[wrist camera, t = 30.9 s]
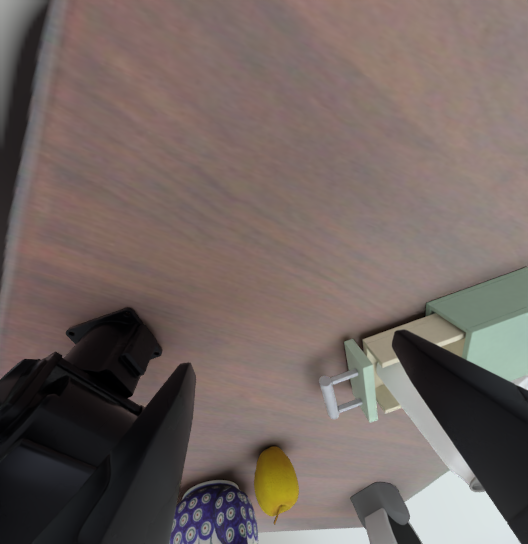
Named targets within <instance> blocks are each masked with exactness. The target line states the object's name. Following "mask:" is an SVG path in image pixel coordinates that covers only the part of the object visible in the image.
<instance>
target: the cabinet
mask: <svg viewBox="0 0 528 544" xmlns="http://www.w3.org/2000/svg"><path fill="white" fill-rule="evenodd" d="M435 313H437V314H438V315H440V316H441V317H443V318H444V319H446V320H447V321H449V322H451V323H452V324H454V325H455V326H457V327H458V328H460V329H461V330H463V331H464V332H466V337H465V343H464V348H463V353H462V358H464V359H466V360H468V361H470V362H472V363H474V364H476V365H478V366H480V367H482V368H484V369H486V370H488V371H490V372H492V373H494V374H496V375H498V376H500V377H502V378H504V379H506V380H508V381H512V380H515V379H518V378H520V377H523V376H526V375H528V267H525V268H523V269H520V270H517V271H514V272H512V273H509V274H506V275H503V276H500V277H498V278H495V279H492V280H489V281H486V282H484V283H481V284H478V285H475V286H473V287H470V288H467V289H464V290H461V291H459V292H456V293H453V294H450V295H447V296H445V297H442V298H439V299H436V300H434V301H431V302H428V303H426V316H429V315H432V314H435ZM426 316H425V317H426Z"/></svg>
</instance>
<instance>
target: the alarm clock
mask: <svg viewBox="0 0 528 544" xmlns="http://www.w3.org/2000/svg"><path fill="white" fill-rule="evenodd" d="M351 500H352V503H353V505H354V507H355V510H356V512H357V514H358V517H359V519H360V521H361V523H362V525H363V526H364V528H365V529H366V530H367V534H368V537H369V541H370V544H423V543H422V542H421V540H420V538H419V537H418V535H417V533H416V532H415V530H414V528H413V527H412V525H411V524H410V523H409V519H410V515H409V511H408V509H407V507H406V505H405V503H404V501H403V499H402V497H401V495H400V493H399V491H398V489H397V488H396V487H395V486H394V485H392V484H389V483H382V482H376V483H373V484H372V485H370V486H368V487H367V488H365V489H364V490H362V491H360V492H359V493H357V494H355V495H354V496H352V497H351Z"/></svg>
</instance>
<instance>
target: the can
mask: <svg viewBox="0 0 528 544" xmlns="http://www.w3.org/2000/svg"><path fill="white" fill-rule="evenodd" d="M376 372H377V374H378V376H379V377H380V379H381V380H382V381H383V383H384V384H385V386H386V387H387V388H388V389H389V391H390V392H391V393H392V395H393V396H394V397H395V399H396V400H397V401H398V403H399V404H400V405H401V407H402V408H403V409H404V411H405V412H406V413H407V415H408V416H409V417H410V419H411V420H412V421H413V423H414V424H415V425H416V426H417V428H418V429H419V430H420V432H421V433H422V434H423V436H424V437H425V438H426V440H427V441H428V442H429V444H430V445H431V446H432V448H433V449H434V450H435V451H436V453H437V454H438V455H439V457H440V458H441V459H442V460H443V462H444V463H445V464H446V466H447V467H448V468H449V469H450V470H451V471H452V472H453V473H455V474H456V475H457V476H458V477H460V478H461V479H463V480H464V481H465V482H466V483H467V484H468V485H469V487H470V489H471V490H472V491H474V492H484V491H485V490H484V488H483V487H482V485H481V484H480V482H479V481H478V479H477V478H476V476H475V475H474V473H473V472H472V471H471V469H470V468H469V466H468V465H467V463H466V462H465V460H464V459H463V457H462V456H461V454H460V453H459V452H458V450H457V449H456V447H455V446H454V444H453V443H452V441H451V440H450V438H449V437H448V435H447V434H446V433H445V431H444V430H443V428H442V427H441V425H440V424H439V422H438V421H437V419H436V418H435V416H434V415H433V413H432V412H431V411H430V409H429V408H428V406H427V405H426V403H425V402H424V400H423V399H422V397H421V396H420V394H419V393H418V392H417V390H416V389H415V387H414V386H413V384H412V382H411V381H410V379H409V377H408V376H407V374H406V372H405V370H404V368H403V367H402V365H401V363H400V362H398V363H395V364H392V365H389V366H387V367H384V368H382V366H381V365H380V364H379V363H378V362H377V364H376Z"/></svg>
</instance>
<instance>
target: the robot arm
mask: <svg viewBox="0 0 528 544" xmlns="http://www.w3.org/2000/svg"><path fill="white" fill-rule="evenodd" d="M126 312H128V313H130V314H127V313H126ZM73 332H74V333H73ZM66 335H67V336H68V337H69V338H70V339H71V340H72V341H73V342H74V343H75V344H76V345H75V346H74V347H73V348H72V349H71V350H70V352H69V353H68V354H67V355H66V356H65V357H64V358H62V355H60V354H59V353H57V352H54V353H52V354H51V355H49V356H48V357H46V358H44V359H42V360H40V359H37V360H35V359H24V360H22V361H21V362H19V363H18V364H17V365H16V366H14V367H13V368H12V369H11V370H10V371H9V372H8V373H7V374H6V375H5V376H4V377H2V378H1V379H0V544H169V542H170V537H171V532H172V527H173V521H174V516H175V511H176V505H177V500H178V495H179V489H180V484H181V479H182V473H183V468H184V463H185V457H186V452H187V447H188V441H189V436H190V431H191V425H192V419H193V409H194V397H195V385H196V375H195V372H194V370H193V367H192V365H191V363H189V362H188V363H182V364H180V365H179V366H178V367H177V368H176V370H175V371H174V372H173V373H172V375H171V376H170V377H169V378H168V380H167V381H166V382H165V383H164V385H163V386H162V387H161V388H160V390H159V391H158V392H157V393H156V395H155V396H154V397H153V398H152V400H151V401H150V402H149V403H148V405H147V406H146V407H143V406H142V405H141V406H139V405H138V404H136V403H134V402H133V401H131V400H130V399H128V397H131V396H132V395H133V393H134V390H135V388H136V386H137V383H138V381H139V379H140V376H141V375H144V373H145V371H146V368H147V366H148V363H149V361H150V360H151V359H153V358H156V357H159V356H161V354H162V348H161V347H160V346H159V344H158V343H157V340H156V339H155V338H154V336H153V335H152V334H151V332H150V331H149V329H148V328H147V327H146V325H145V324H143V322H142V321H141V320H140V318H139V317H138V315H137V314H136V313H135V311H134V310H133V309H131V308H125V309H122V310H119V311H116V312H113V313H110V314H108V315H105V316H102V317H99V318H96V319H93V320H90V321H87V322H85V323H82V324H79V325H76V326H73V327H71V328H69V329H68V330H67V331H66ZM392 348H393V350H394V352H395V354H396V356H397V358H398V359H399V361H400V363H401V365H402V367H403V368H404V370H405V372H406V374H407V376H408V377H409V379H410V381H411V382H412V384H413V386H414V387H415V389H416V390H417V392H418V393H419V394H420V396H421V397H422V399H423V400H424V402H425V403H426V405H427V406H428V408H429V409H430V411H431V412H432V413H433V415H434V416H435V418H436V419H437V421H438V422H439V424H440V425H441V427H442V428H443V430H444V431H445V433H446V434H447V435H448V437H449V438H450V440H451V441H452V443H453V444H454V446H455V447H456V449H457V450H458V452H459V453H460V454H461V456H462V457H463V459H464V460H465V462H466V463H467V465H468V466H469V468H470V469H471V471H472V472H473V473H474V475H475V476H476V478H477V479H478V481H479V482H480V484H481V485H482V487H483V488H484V490H485V491H486V493H487V494H488V495H489V497H490V498H491V500H492V501H493V502H494V504H495V506H496V507H497V509H498V510H499V512H500V513H501V514H502V516H503V517H504V519H505V520H506V521H507V523H508V525H509V526H510V528H511V529H512V531H513V532H514V534H515V535H516V537H517V538H518V540H519V541H520V543H521V544H528V390H526V389H524V388H522V387H520V386H518V385H515V384H514V383H512V382H510V381H508V380H506V379H504V378H502V377H500V376H498V375H496V374H494V373H492V372H490V371H488V370H486V369H484V368H482V367H480V366H478V365H476V364H474V363H472V362H470V361H468V360H466V359H464V358H462V357H460V356H458V355H456V354H454V353H452V352H450V351H448V350H446V349H444V348H442V347H440V346H438V345H436V344H434V343H432V342H430V341H428V340H426V339H424V338H422V337H420V336H418V335H416V334H414V333H412V332H410V331H408V330H405V329H402V330H396V331H395V332H394V336H393V340H392Z"/></svg>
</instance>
